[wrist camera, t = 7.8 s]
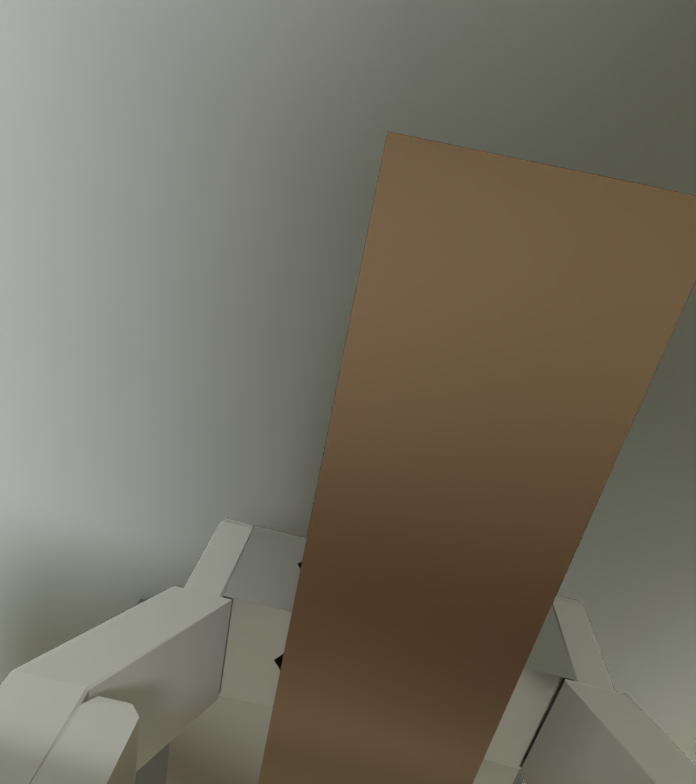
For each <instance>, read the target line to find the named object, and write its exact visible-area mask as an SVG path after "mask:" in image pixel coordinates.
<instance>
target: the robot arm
mask: <svg viewBox="0 0 696 784" xmlns="http://www.w3.org/2000/svg"><path fill="white" fill-rule="evenodd" d="M306 539H307V538H303V537H299V536H295V535H291V534H287V533H284V532H280V531H276V530H272V529H268V528H264V527H260V526H254V525H251V524H247V523H243V522H239V521H235V520H231V519H227V518H225V519H223V520H222V521H221V522H220V523H219V524H218V526H217V528H216V530H215V532H214V534H213V535H212V537H211V539H210V541H209V543H208V544H207V546H206V548H205V550H204V552H203V553H202V555H201V557H200V559H199V561H198V562H197V564H196V566H195V568H194V570H193V572H192V573H191V575H190V577H189V579H188V581H187V582H186V584H185V586H184V588H182V587H177V586H172V587H171V588H169V589H167V590H165V591H163V592H161V593H159V594H157V595H155V596H153V597H151V598H149V599H148V600H146V601H144V602H142V603H140V604H138V605H136V606H134V607H132V608H130V609H128V610H127V611H125V612H123V613H121V614H119V615H117V616H115V617H113V618H111V619H109V620H107V621H105V622H104V623H102V624H100V625H98V626H96V627H94V628H92V629H90V630H88V631H86V632H84V633H83V634H81V635H79V636H77V637H75V638H73V639H71V640H69V641H67V642H65V643H63V644H61V645H60V646H58V647H56V648H54V649H52V650H50V651H48V652H46V653H44V654H42V655H40V656H38V657H37V658H35V659H33V660H31V661H29V662H27V663H25V664H23V665H21V666H19V667H17V668H16V669H14V670H12V671H11V672H10V673H9V675H8V676H7V677H6V678H5V680H4V681H3V682H2V683H1V685H0V784H135V778H136V772H137V771H138V770H139V769H140V768H141V767H142V766H144V765H145V764H146V763H147V762H148V761H149V760H150V759H151V758H153V757H154V756H155V755H156V754H157V753H158V752H159V751H160V750H162V749H163V748H164V747H165V746H166V745H167V744H168V743H169V742H170V741H172V740H173V739H174V738H175V737H176V736H177V735H178V734H179V733H181V732H182V731H183V730H184V729H185V728H186V727H187V726H188V725H190V724H191V723H192V722H193V721H194V720H195V719H196V718H197V717H198V716H200V715H201V714H202V713H203V712H204V711H205V710H206V709H207V708H209V707H210V706H211V705H212V704H213V703H214V702H215V701H216V700H218V696H219V695H221V696H225V697H230V698H235V699H239V700H244V701H249V702H253V703H258V704H263V705H267V706H272V707H273V705H274V700H275V695H276V690H277V685H278V680H279V675H280V670H281V665H282V660H283V654H284V649H285V644H286V639H287V634H288V629H289V624H290V619H291V614H292V609H293V604H294V599H295V594H296V589H297V584H298V579H299V574H300V569H301V564H302V559H303V554H304V549H305V544H306ZM484 759H485V760H489V761H493V762H496V763H500V764H503V765H507V766H511V767H514V768H518V769H521V770H520V774H521V776H522V777H523V779H524V781H525V782H526V784H696V765H695V764H694V763H693V762H692V761H691V760H690V759H689V758H688V757H687V756H686V755H685V754H684V753H683V752H682V751H681V750H680V749H679V748H678V747H677V745H676V744H675V743H674V742H673V741H672V740H671V739H670V738H669V737H668V736H667V735H666V734H665V733H664V732H663V731H662V730H661V729H660V728H659V727H658V726H657V725H656V724H655V723H654V722H653V721H652V720H651V719H650V718H649V717H648V716H647V715H646V714H645V713H644V712H643V711H642V710H641V709H640V708H639V707H638V706H637V705H636V704H635V703H634V702H633V701H632V700H631V699H630V698H629V697H628V696H627V695H626V694H624V693H620V692H616V691H615V689H614V687H613V684H612V681H611V679H610V676H609V673H608V670H607V668H606V665H605V662H604V660H603V657H602V654H601V652H600V649H599V646H598V643H597V641H596V638H595V635H594V633H593V630H592V627H591V625H590V622H589V619H588V616H587V614H586V611H585V608H584V606H583V605H582V604H581V603H580V602H579V601H578V600H573V599H569V598H564V597H559V596H556V597H555V599H554V601H553V603H552V606H551V608H550V610H549V612H548V615H547V617H546V619H545V621H544V624H543V626H542V628H541V631H540V633H539V635H538V637H537V640H536V642H535V644H534V646H533V649H532V651H531V653H530V655H529V658H528V660H527V662H526V664H525V667H524V669H523V671H522V673H521V676H520V678H519V680H518V682H517V685H516V687H515V689H514V691H513V694H512V696H511V698H510V700H509V703H508V705H507V707H506V709H505V712H504V714H503V716H502V718H501V721H500V723H499V725H498V727H497V730H496V732H495V734H494V736H493V739H492V741H491V743H490V745H489V748H488V750H487V752H486V754H485V757H484Z"/></svg>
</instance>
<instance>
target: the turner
mask: <svg viewBox="0 0 696 784" xmlns="http://www.w3.org/2000/svg"><path fill="white" fill-rule="evenodd" d="M695 281H696V195H692V194H687V193H682V192H677V191H672V190H667V189H663V188H658V187H653V186H648V185H643V184H638V183H634V182H629V181H624V180H619V179H614V178H610V177H605V176H600V175H595V174H590V173H585V172H581V171H576V170H571V169H566V168H561V167H556V166H552V165H547V164H542V163H537V162H532V161H527V160H523V159H518V158H513V157H508V156H503V155H499V154H494V153H489V152H484V151H479V150H474V149H470V148H465V147H460V146H455V145H450V144H445V143H441V142H436V141H431V140H426V139H421V138H417V137H412V136H407V135H402V134H397V133H392V132H388V131H387V135H386V141H385V146H384V151H383V156H382V161H381V166H380V171H379V176H378V181H377V186H376V191H375V196H374V201H373V206H372V211H371V216H370V221H369V226H368V231H367V236H366V241H365V246H364V251H363V256H362V261H361V267H360V272H359V277H358V282H357V287H356V292H355V297H354V302H353V307H352V312H351V317H350V322H349V327H348V332H347V337H346V342H345V347H344V352H343V357H342V362H341V367H340V372H339V377H338V382H337V387H336V392H335V398H334V403H333V408H332V413H331V418H330V423H329V428H328V433H327V438H326V443H325V448H324V453H323V458H322V463H321V468H320V473H319V478H318V483H317V488H316V493H315V498H314V503H313V508H312V513H311V518H310V523H309V529H308V534H307V539H306V544H305V549H304V554H303V559H302V564H301V569H300V574H299V579H298V584H297V589H296V594H295V599H294V604H293V609H292V614H291V619H290V624H289V629H288V634H287V639H286V644H285V649H284V654H283V660H282V665H281V670H280V675H279V680H278V685H277V690H276V695H275V700H274V705H273V707H272V706H267V705H263V704H258V703H253V702H249V701H244V700H239V699H235V698H230V697H225V696H221V695H219V696H218V700H216V701H215V702H214V703H213V704H212V705H211V706H210V707H209V708H207V709H206V710H205V711H204V712H203V713H202V714H201V715H200V716H198V717H197V718H196V719H195V720H194V721H193V722H192V723H191V724H190V725H188V726H187V727H186V728H185V729H184V730H183V731H182V732H181V733H179V734H178V735H177V736H176V737H175V738H174V739H173V740H172V741H170V744H169V755H168V765H167V776H166V784H513V782H514V780H515V778H516V776H517V774H518V771H519V769H518V768H514V767H511V766H507V765H503V764H500V763H496V762H493V761H489V760H485V759H484V757H485V754H486V752H487V750H488V748H489V745H490V743H491V741H492V739H493V736H494V734H495V732H496V730H497V727H498V725H499V723H500V721H501V718H502V716H503V714H504V712H505V709H506V707H507V705H508V703H509V700H510V698H511V696H512V694H513V691H514V689H515V687H516V685H517V682H518V680H519V678H520V676H521V673H522V671H523V669H524V667H525V664H526V662H527V660H528V658H529V655H530V653H531V651H532V649H533V646H534V644H535V642H536V640H537V637H538V635H539V633H540V631H541V628H542V626H543V624H544V621H545V619H546V617H547V615H548V612H549V610H550V608H551V606H552V603H553V601H554V599H555V597H556V594H557V592H558V590H559V588H560V585H561V583H562V581H563V579H564V576H565V574H566V572H567V570H568V567H569V565H570V563H571V561H572V558H573V556H574V554H575V552H576V549H577V547H578V545H579V543H580V540H581V538H582V536H583V534H584V531H585V529H586V527H587V525H588V522H589V520H590V518H591V516H592V513H593V511H594V509H595V507H596V504H597V502H598V500H599V497H600V495H601V493H602V491H603V488H604V486H605V484H606V482H607V479H608V477H609V475H610V473H611V470H612V468H613V466H614V464H615V461H616V459H617V457H618V455H619V452H620V450H621V448H622V446H623V443H624V441H625V439H626V437H627V434H628V432H629V430H630V428H631V425H632V423H633V421H634V419H635V416H636V414H637V412H638V410H639V407H640V405H641V403H642V401H643V398H644V396H645V394H646V392H647V389H648V387H649V385H650V383H651V380H652V378H653V376H654V373H655V371H656V369H657V367H658V364H659V362H660V360H661V358H662V355H663V353H664V351H665V349H666V346H667V344H668V342H669V340H670V337H671V335H672V333H673V331H674V328H675V326H676V324H677V322H678V319H679V317H680V315H681V313H682V310H683V308H684V306H685V304H686V301H687V299H688V297H689V295H690V292H691V290H692V288H693V286H694V283H695Z"/></svg>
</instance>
